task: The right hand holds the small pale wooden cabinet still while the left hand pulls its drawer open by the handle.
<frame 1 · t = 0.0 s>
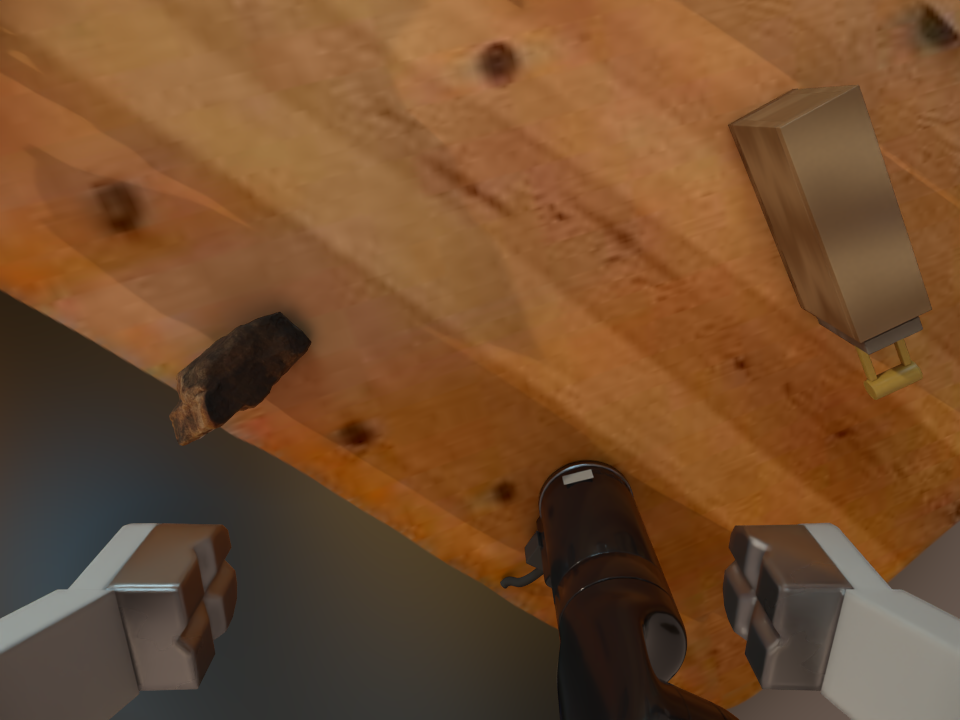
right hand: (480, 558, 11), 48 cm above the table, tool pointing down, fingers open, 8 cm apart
decorative rock: (252, 355, 61), on the table
cabinet: (797, 204, 56), on the table
drawer: (847, 271, 53), point 5 cm above the table, slide at 0.6 cm
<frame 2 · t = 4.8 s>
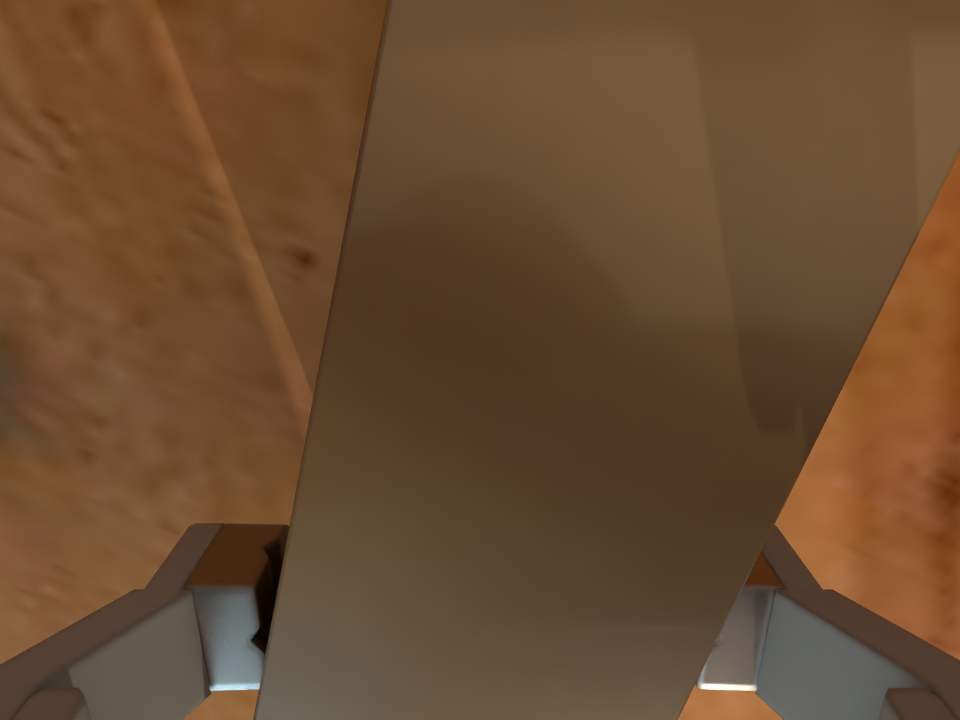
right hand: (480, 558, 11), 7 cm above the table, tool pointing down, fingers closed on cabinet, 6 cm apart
cabinet: (527, 210, 16), on the table, touching right hand
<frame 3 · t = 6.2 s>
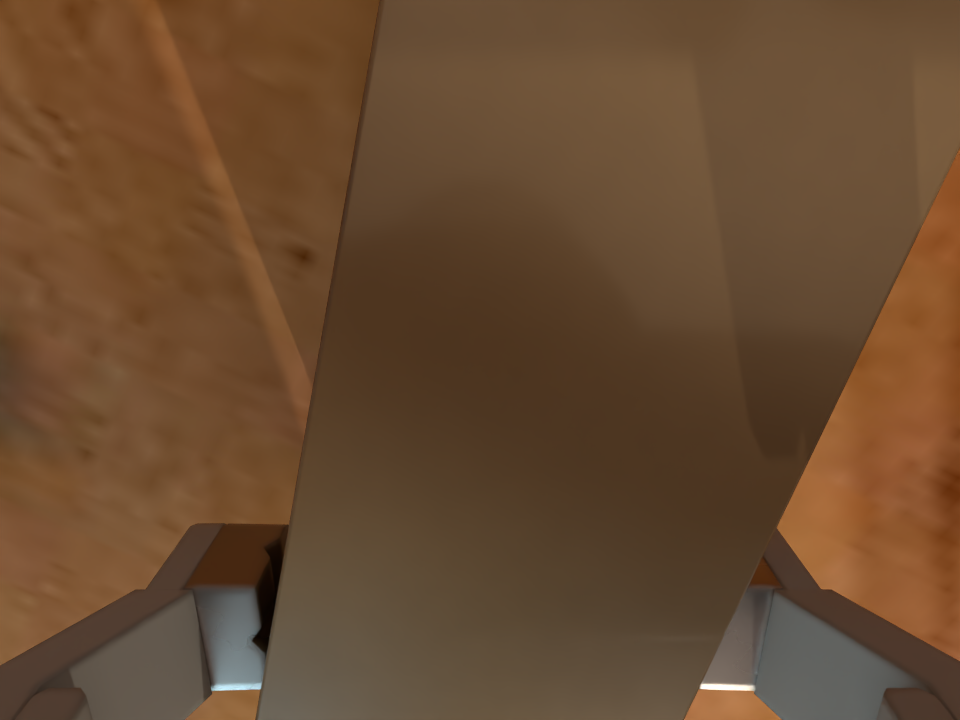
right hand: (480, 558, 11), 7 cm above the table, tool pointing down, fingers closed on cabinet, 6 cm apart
cabinet: (529, 212, 16), on the table, touching right hand
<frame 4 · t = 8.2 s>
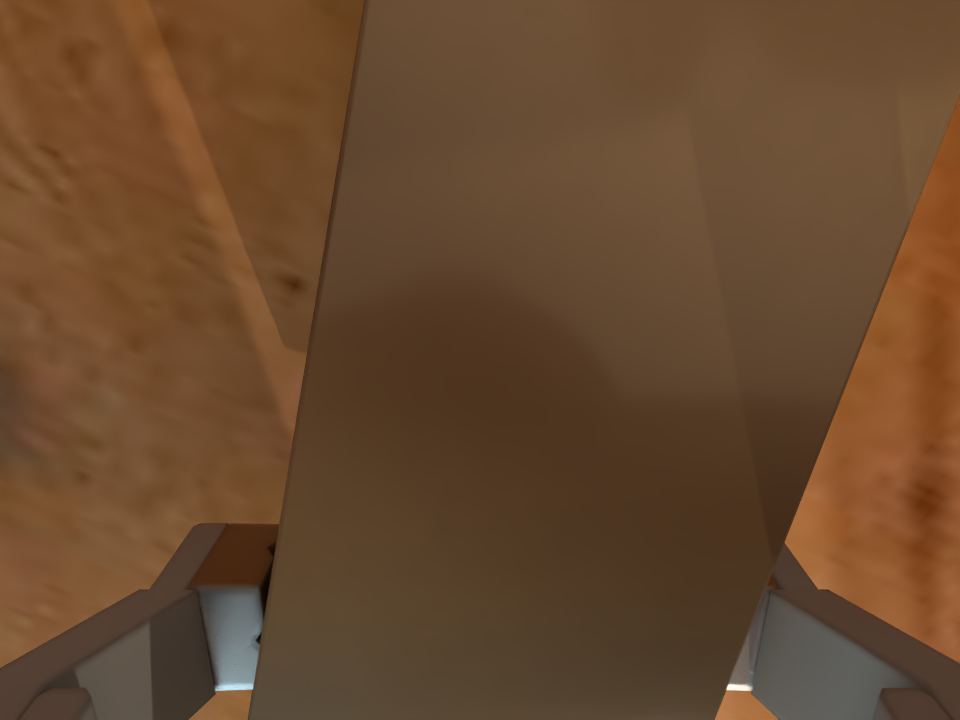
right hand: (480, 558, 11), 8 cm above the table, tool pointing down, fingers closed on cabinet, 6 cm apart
cabinet: (515, 241, 16), point 1 cm above the table, touching right hand
when the right hand's fingers open (8 cm above the table, at t = 9.7 s): cabinet stays where it is, on the table.
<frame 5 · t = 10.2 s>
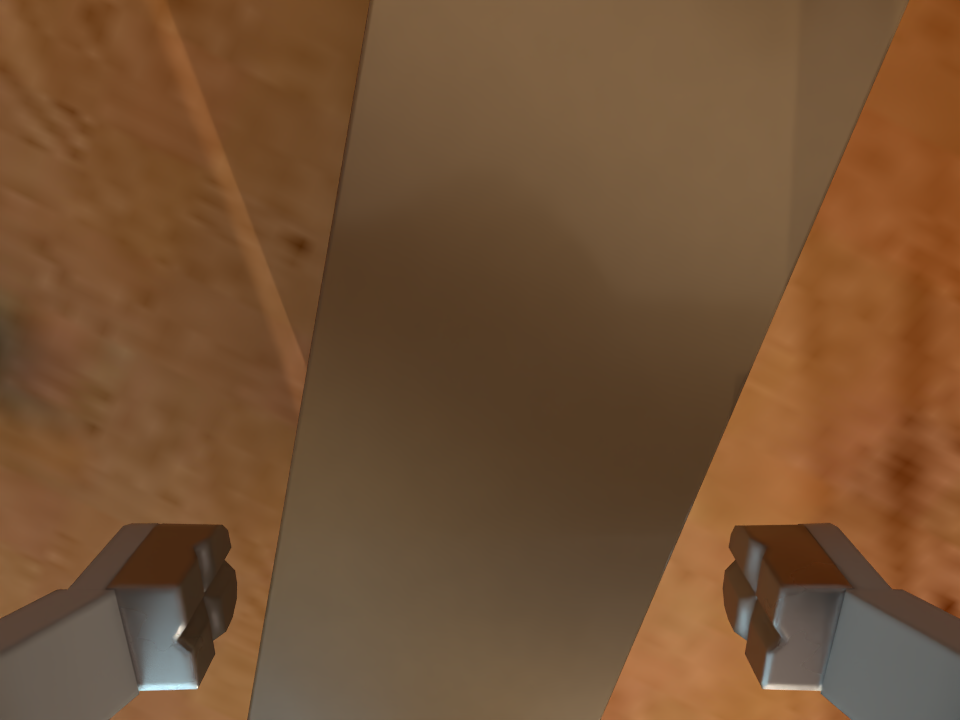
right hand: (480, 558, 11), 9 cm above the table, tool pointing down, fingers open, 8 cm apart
cabinet: (508, 215, 17), on the table
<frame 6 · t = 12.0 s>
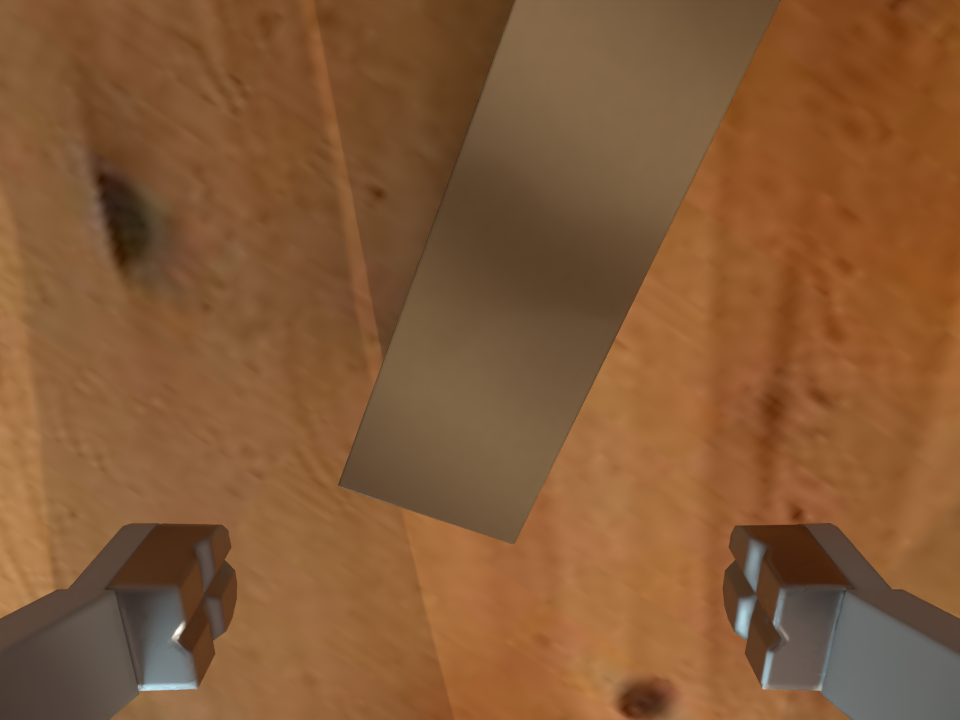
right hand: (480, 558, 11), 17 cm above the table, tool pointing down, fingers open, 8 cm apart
cabinet: (523, 191, 26), on the table
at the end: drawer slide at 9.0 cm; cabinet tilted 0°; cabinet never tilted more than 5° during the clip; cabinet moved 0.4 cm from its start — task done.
